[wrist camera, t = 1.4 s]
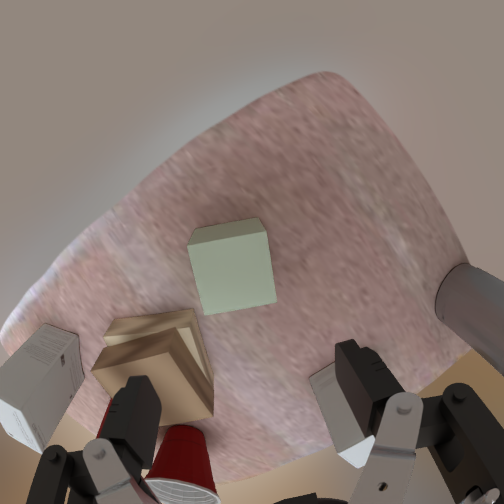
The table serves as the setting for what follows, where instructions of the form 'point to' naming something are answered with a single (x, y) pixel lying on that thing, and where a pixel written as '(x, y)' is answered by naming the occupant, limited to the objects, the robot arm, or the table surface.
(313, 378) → the supplement box
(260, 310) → the table surface
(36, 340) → the skincare box
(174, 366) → the tower top
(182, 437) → the plastic cup
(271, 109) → the table surface
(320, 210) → the table surface
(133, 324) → the tower base
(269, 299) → the green cube
